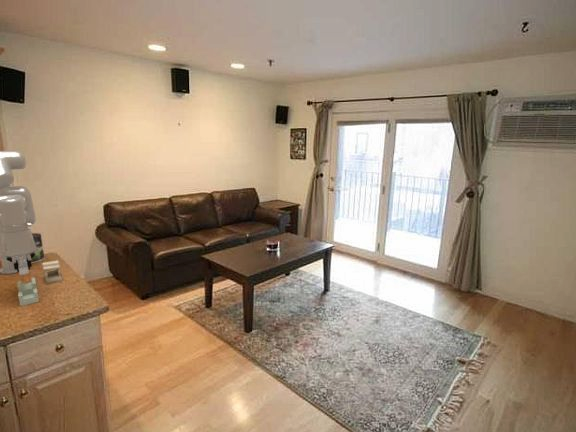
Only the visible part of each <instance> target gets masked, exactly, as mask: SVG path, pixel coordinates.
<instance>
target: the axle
mask: <svg viewBox="0 0 576 432" xmlns="http://www.w3.org/2000/svg"><path fill="white" fill-rule="evenodd" d="M17 259H18V268H19V272H18V274H19V276H23V275H27V274H30V270H28V265H27V257H26V254H23V255H17Z"/></svg>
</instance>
